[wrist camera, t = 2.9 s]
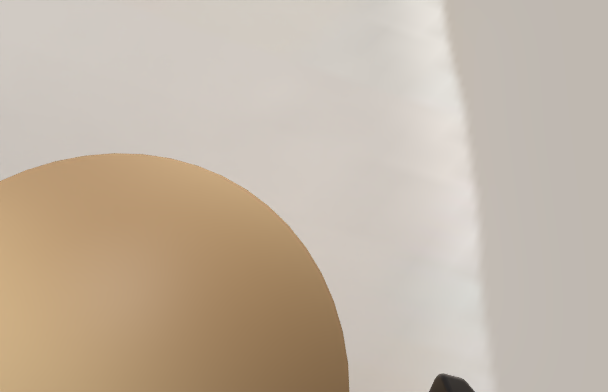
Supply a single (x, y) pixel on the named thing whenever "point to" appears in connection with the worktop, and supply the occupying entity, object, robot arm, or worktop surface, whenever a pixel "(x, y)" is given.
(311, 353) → the wooden chess pawn
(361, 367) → the worktop surface
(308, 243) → the worktop surface
